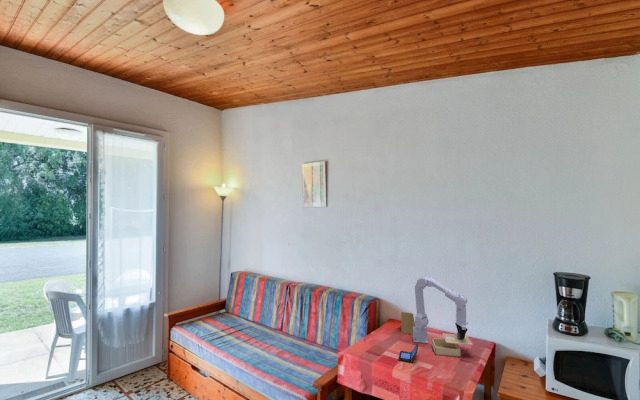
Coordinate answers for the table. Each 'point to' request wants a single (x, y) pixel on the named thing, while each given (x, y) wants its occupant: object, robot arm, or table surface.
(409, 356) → the handheld game console
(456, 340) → the carton lid
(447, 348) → the carton
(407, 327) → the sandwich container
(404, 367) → the table surface
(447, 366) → the table surface
